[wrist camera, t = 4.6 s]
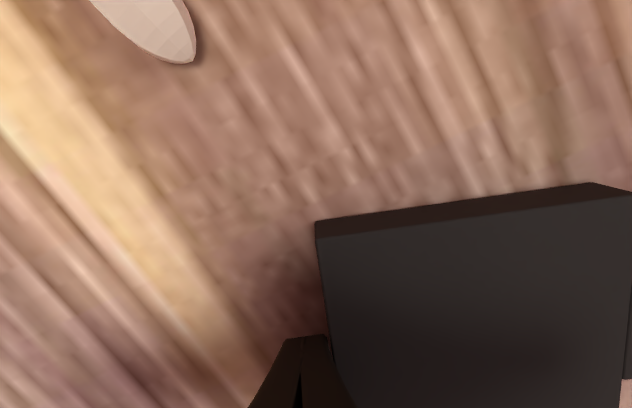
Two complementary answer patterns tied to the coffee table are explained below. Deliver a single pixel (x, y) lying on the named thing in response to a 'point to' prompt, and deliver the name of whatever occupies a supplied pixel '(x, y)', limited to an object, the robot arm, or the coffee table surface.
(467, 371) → the graphite pad
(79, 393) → the coffee table surface
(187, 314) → the coffee table surface
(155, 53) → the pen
